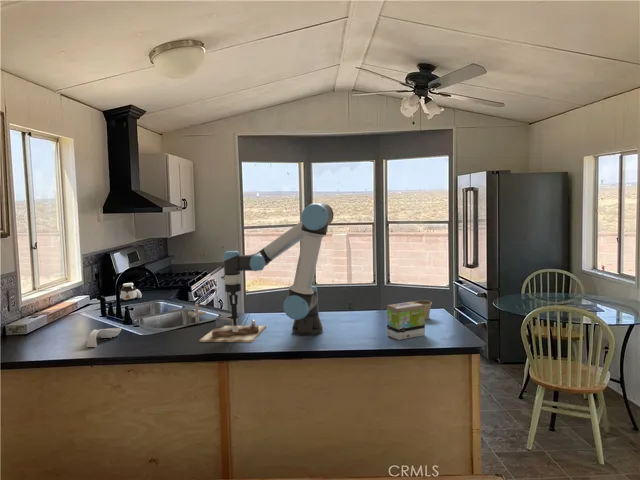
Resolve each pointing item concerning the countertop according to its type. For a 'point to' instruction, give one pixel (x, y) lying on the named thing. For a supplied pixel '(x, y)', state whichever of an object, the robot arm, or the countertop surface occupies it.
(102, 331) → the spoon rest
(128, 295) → the spread jar
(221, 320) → the keeper bracket
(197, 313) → the pipe connector
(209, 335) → the maple board
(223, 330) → the brown streaked bar
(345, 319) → the countertop surface
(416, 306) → the tea box
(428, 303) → the flower pot
